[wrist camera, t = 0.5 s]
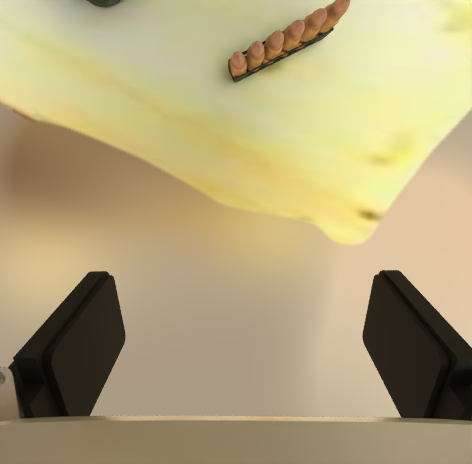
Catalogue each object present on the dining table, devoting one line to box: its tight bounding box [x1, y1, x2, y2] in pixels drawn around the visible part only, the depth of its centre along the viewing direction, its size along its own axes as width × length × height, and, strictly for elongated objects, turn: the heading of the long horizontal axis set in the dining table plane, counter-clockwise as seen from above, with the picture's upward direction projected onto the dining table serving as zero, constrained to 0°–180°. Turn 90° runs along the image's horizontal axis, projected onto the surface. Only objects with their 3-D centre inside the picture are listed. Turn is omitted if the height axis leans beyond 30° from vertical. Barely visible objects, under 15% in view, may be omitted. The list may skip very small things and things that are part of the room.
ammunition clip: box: [228, 0, 350, 82], centre depth 28 cm, size 11×2×12 cm, turn 114°
